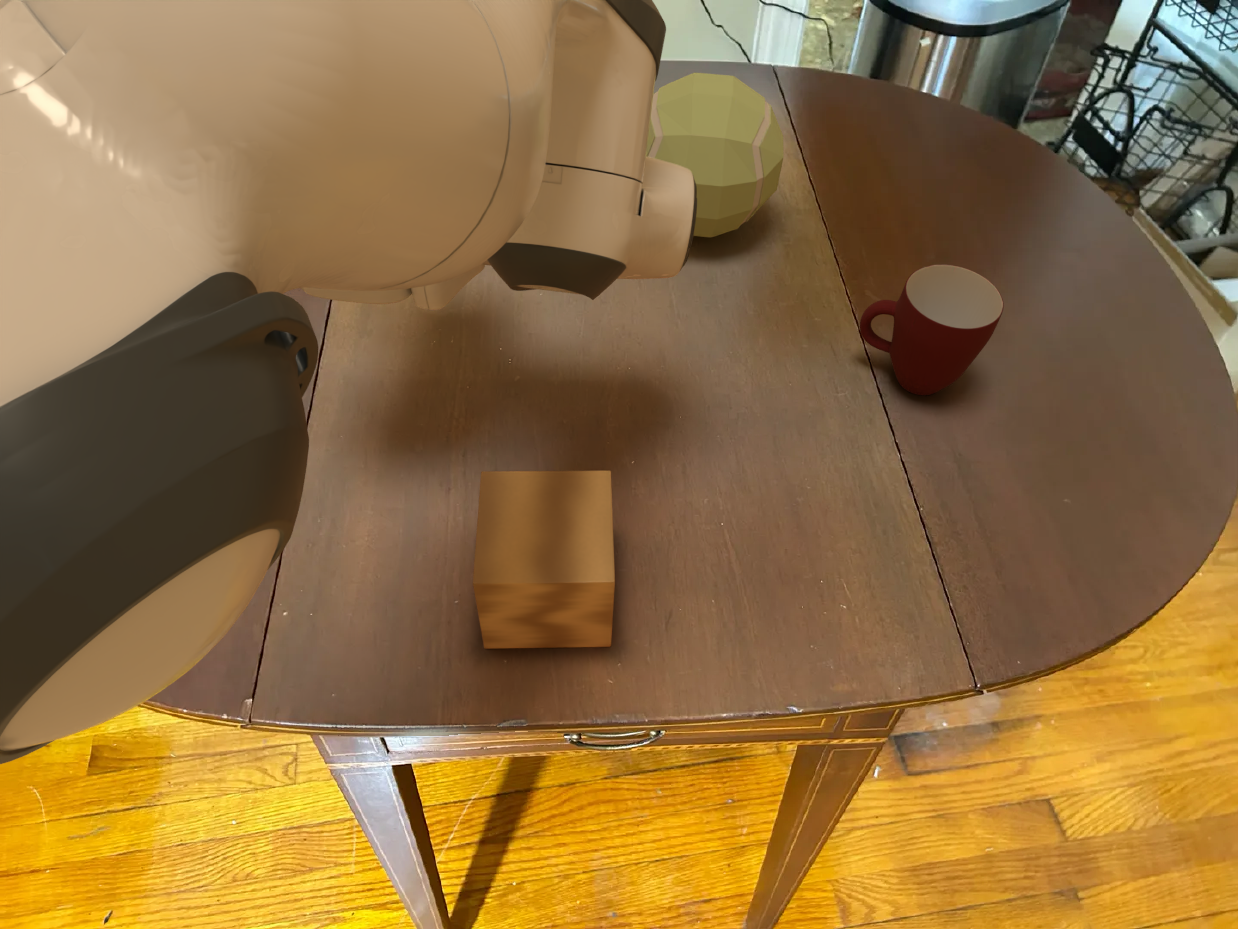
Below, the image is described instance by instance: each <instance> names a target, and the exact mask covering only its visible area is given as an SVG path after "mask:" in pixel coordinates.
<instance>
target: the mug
mask: <svg viewBox="0 0 1238 929" xmlns="http://www.w3.org/2000/svg"><path fill="white" fill-rule="evenodd" d="M1004 304H1005V303H1004V299H1003V296H1002V294H1001V292H1000V291H999V289H998V288H997V286H995V285H994V284H993V283H992V281H990V280H989V279H988V278H986V277H985V276H983V275H982V274H980V273H978V272H976V271H974V270H972V269H969V268H966V267H963V266H958V265H955V264H954V265H953V264H942V263H941V264H940V263H939V264H930V265H926V266H923V267H920V268H918V269H916V270H914V272H912V273H911V274H910V275H909V276H908V278H907V279H906V281H905V284H904V286H903V288H902V291H901V294H900V295H899V298H898V300H891V299H880V300H877V301H875V302H872V304H870V305H869V306H868V307H866V308H865V310H864V311H863V313H862V315H861V317H860V320H859V332H860V335H861V337H862V339H863V340H864V341H865V342H866V344H868V345H870V346H871V347H873V348H875V349H877V350H880V351H882V352H884V353H888V354H889V356H890V361H891V365H892V369H893V371H894V374H895V377H896V380H897V382H898V384H899V385H900V386H901V388H903V389H904V390H905V391H907V392H908V393H911V394H913V395H917V396H930V395H933V394H936V393H938V392H940V391H942V390H944V389H945V388H947V387H949V386H950V385H952V384H954V383H955V382H956V381H958V380H959V379H960V378H961V377H962V375H964V373H965V372H966V371H967V369H968V368H969V367H970V366H971V364H972V363H973V362H974V360H976V358H977V357H978V356H979V354H981V352H982V350H983V349H984V348H985V347H986V345H987V344H988V342H989V341H990V340H991V338H992V336H993V334H994V332H995V330H996V328H997V327H998V324H999V322H1000V319H1001V317H1002V315H1003V312H1004V307H1005V305H1004ZM881 315H887V316H892V317H893V329H892V335H891V336H892V337H891V340H887V339H885V338H883V337H881V336H879V335H878V334H877V333H876V332H875V331H874V330H873V328H872V321H873V320H874V319H875V318H876V317H878V316H881Z"/></svg>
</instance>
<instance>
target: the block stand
mask: <svg viewBox="0 0 1238 929" xmlns="http://www.w3.org/2000/svg"><path fill="white" fill-rule="evenodd" d="M479 482H480V483H479V495H478V496H479V497H478V507H477V508H478V510H477V523H476V536H475V546H474V548H475V549H474V561H473V574H472V586H473V592H474V598H475V605H476V610H477V615H478V622H479V626H480V632H481V638H482V644H483V648H484V649H543V648H544V649H546V648H548V649H549V648H551V649H552V648H554V649H555V648H556V649H557V648H610V647H612V635H613V618H614V602H615V589H616V588H615V587H616V586H615V585H616V574H615V573H616V572H615V548H614V545H615V544H614V518H613V517H614V516H613V494H612V493H613V490H612V471H611V470H499V471H498V470H495V471H494V470H492V471H491V470H487V471H485V470H483V471H481V472H480V480H479Z"/></svg>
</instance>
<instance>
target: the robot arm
mask: <svg viewBox="0 0 1238 929" xmlns="http://www.w3.org/2000/svg"><path fill="white" fill-rule="evenodd" d="M666 33H667V25H666V22H665V20H664V19H663V16H662V15H661V13H660V11H659V9H658V7H657V6H656V4H655V2H654V0H0V765H3V764H6V763H10V762H12V761H15V760H17V759H20V758H23V757H25V756H27V755H29V754H31V753H33V752H35V751H37V750H39V749H42V748H45V746H47V745H49V744H51V743H53V742H55V741H57V740H61V739H63V738H67V737H69V736H72V735H75V734H79V733H81V732H84V731H86V730H88V729H91V728H94V727H96V726H99V725H102V724H105V723H106V722H108V721H110V720H113V719H115V718H116V717H118V716H120V715H122V714H125V713H126V712H128V711H130V710H133V709H134V708H136V707H138V706H140V705H142V704H144V703H145V702H147V701H148V700H150V699H152V698H153V697H155V696H156V695H157V694H159V693H161V692H162V691H163V690H165V689H166V688H168V687H169V686H171V685H172V684H174V683H175V682H176V681H177V680H179V679H181V678H182V677H183V676H184V675H185V674H187V673H188V672H189V671H191V669H193V668H194V667H195V666H196V665H197V664H198V663H199V662H201V660H203V658H205V657H206V656H207V655H208V654H209V653H210V652H211V651H212V650H213V649H214V648H215V647H216V646H217V645H218V644H219V643H220V641H221V640H222V639H224V638H225V636H226V635H227V634H228V633H229V631H230V630H231V628H233V626H234V625H235V624H236V622H238V619H239V618H240V617H241V615H243V613H244V611H245V610H246V609H247V607H248V606H249V605H250V602H252V599H253V598H254V595H255V594H256V593H257V590H258V589H259V587H260V586H261V583H262V582H263V580H264V578H265V577H266V574H267V572H268V570H270V568H271V567H272V566H273V564H274V563H275V562H276V561H277V560H278V558H279V557H280V555H281V554H282V553H283V551H284V550H285V548H286V547H287V545H288V543H289V541H290V540H291V537H292V535H293V532H294V528H295V525H296V522H297V517H298V514H299V510H300V507H301V502H302V497H303V492H304V486H305V479H306V473H307V466H308V459H309V450H310V437H309V431H308V424H307V418H306V411H305V405H304V400H303V397H304V396H305V393H306V392H307V390H308V388H309V385H310V384H311V382H312V379H313V377H314V374H315V371H316V368H317V364H318V359H319V343H318V338H317V336H316V334H315V331H314V328H313V325H312V323H311V320H310V318H309V315H308V313H307V311H306V309H305V308H304V306H303V305H302V304H300V303H299V302H298V300H296V299H294V298H293V297H291V296H290V295H289V296H288V295H287V294H285V293H288V292H290V291H293V290H296V289H297V290H298V289H300V290H302V291H303V292H304V293H305V294H307V295H308V296H310V297H314V298H319V299H324V300H331V301H338V302H339V301H340V302H346V303H358V304H370V305H391V304H396V303H399V302H402V301H404V300H406V299H408V298H409V297H410V296H411V295H412V298H413V302H414V305H415V306H416V307H417V308H419V309H422V310H426V311H427V310H428V311H439V310H443V309H444V308H445V307H446V306H448V304H449V303H450V302H451V301H452V300H453V299H454V298H455V297H456V296H457V294H458V293H459V292H461V290H462V289H463V288H464V287H465V286H466V285H467V284H468V283H470V281H471V280H473V279H474V278H475V277H477V276H478V275H479V274H481V273H482V272H483V270H484V269H485V267H486V266H491V267H492V269H493V270H494V271H495V273H496V274H497V276H499V277H500V278H501V280H502V281H503V283H505V284H506V286H508V287H509V289H510V290H512V291H518V292H525V291H533V290H540V291H548V292H557V293H563V294H572V295H573V294H574V295H581V296H585V297H587V298H589V299H591V300H592V301H594V300H595V299H596V298H597V297H598V296H600V295H601V294H602V293H603V292H604V291H605V290H607V289H608V288H609V287H610V286H611V285H612V284H613V283H615V281H616V280H650V279H653V280H655V279H657V280H658V279H668V278H674V277H676V276H677V275H678V274H679V273H681V271H682V269H683V268H684V266H685V265H686V263H687V260H688V258H689V255H690V250H691V248H692V245H693V240H694V236H693V235H694V229H695V223H696V213H697V186H696V182H695V180H694V176H693V174H692V172H691V171H690V170H689V169H688V168H685V167H683V166H680V165H677V164H674V163H670V162H667V161H663V160H659V159H655V158H651V157H647V156H646V152H647V144H648V135H649V127H650V119H651V111H652V102H653V94H654V93H655V87H656V86H655V84H656V81H657V78H658V75H659V72H660V65H661V60H662V54H663V50H664V43H665V40H666Z"/></svg>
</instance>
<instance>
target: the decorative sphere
mask: <svg viewBox="0 0 1238 929" xmlns="http://www.w3.org/2000/svg"><path fill="white" fill-rule="evenodd" d="M646 156H647V157H651V158H655V159H659V160H663V161H667V162H670V163H674V164H677V165H680V166H683V167H685V168H688V169H689V170H690V171H691V172H692V174H693V176H694V180H695V182H696V186H697V213H696V223H695V229H694V235H693V237H701V238H703V237H704V238H714V237H717V236H720V235H723V234H726V233H729V232H732V231H735V230H738V229H739V228H740V227H741V226H742V225H743V224H744V223H748V221H749V220H750V219H751V218H752V217H753V216H754V215H755V214H756V213H757V212H758V211H759V209H761V207H763V205H764V204H765V203H766V202H767V201H768V200H769V199H770V198H771V197H772V195H774V194H775V193H776V192H777V191H778V186H779V182H780V177H781V171H782V167H783V163H784V157H785V156H784V134H783V132H782V129H781V127H780V124H779V122H778V119H777V116H776V114H775V112H774V109H773V107H772V105H771V104H770V103H768V101H766V97H764V96H763V95H761V94H760V93H759V92H757V91H756V90H754V89H753V88H752V87H750V86H749V85H747V84H746V83H744V81H742V80H740V79H739V78H737V77H736V76H735V75H729V74H727V75H726V74H717V73H706V72H692V73H690V74H687V75H685V76H683V77H681V78H678V79H676V80H673V81H671V82H668V83H667V84H664V85H663V86H661V87H659V88H658V90H657V91H654V94H653V102H652V111H651V119H650V127H649V135H648V144H647V152H646Z"/></svg>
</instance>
